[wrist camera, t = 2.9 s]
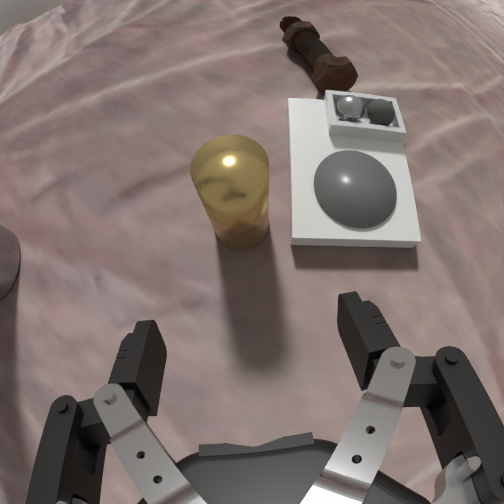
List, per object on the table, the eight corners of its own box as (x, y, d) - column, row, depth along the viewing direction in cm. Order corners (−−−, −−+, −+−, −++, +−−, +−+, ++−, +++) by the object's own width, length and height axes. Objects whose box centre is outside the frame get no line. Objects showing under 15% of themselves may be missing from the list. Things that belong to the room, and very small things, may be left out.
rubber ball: (366, 130, 29) (374, 112, 26) (362, 109, 30) (368, 91, 27) (392, 133, 29) (401, 116, 26) (387, 113, 30) (394, 95, 27)
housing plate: (290, 245, 28) (293, 231, 25) (287, 109, 33) (288, 87, 29) (412, 247, 27) (428, 235, 24) (387, 118, 32) (396, 98, 28)
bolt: (293, 41, 39) (339, 101, 34) (265, 32, 37) (309, 93, 32) (312, 13, 35) (366, 70, 30) (284, 2, 32) (337, 57, 27)
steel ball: (335, 127, 29) (340, 108, 26) (332, 106, 30) (336, 87, 27) (363, 130, 29) (370, 111, 26) (358, 109, 30) (364, 90, 27)
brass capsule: (212, 248, 28) (185, 200, 19) (216, 198, 30) (195, 135, 20) (268, 249, 28) (268, 201, 18) (268, 199, 29) (269, 134, 20)
